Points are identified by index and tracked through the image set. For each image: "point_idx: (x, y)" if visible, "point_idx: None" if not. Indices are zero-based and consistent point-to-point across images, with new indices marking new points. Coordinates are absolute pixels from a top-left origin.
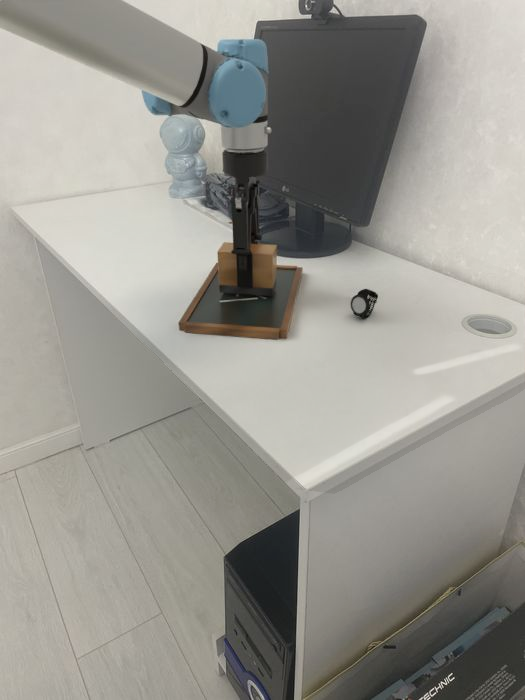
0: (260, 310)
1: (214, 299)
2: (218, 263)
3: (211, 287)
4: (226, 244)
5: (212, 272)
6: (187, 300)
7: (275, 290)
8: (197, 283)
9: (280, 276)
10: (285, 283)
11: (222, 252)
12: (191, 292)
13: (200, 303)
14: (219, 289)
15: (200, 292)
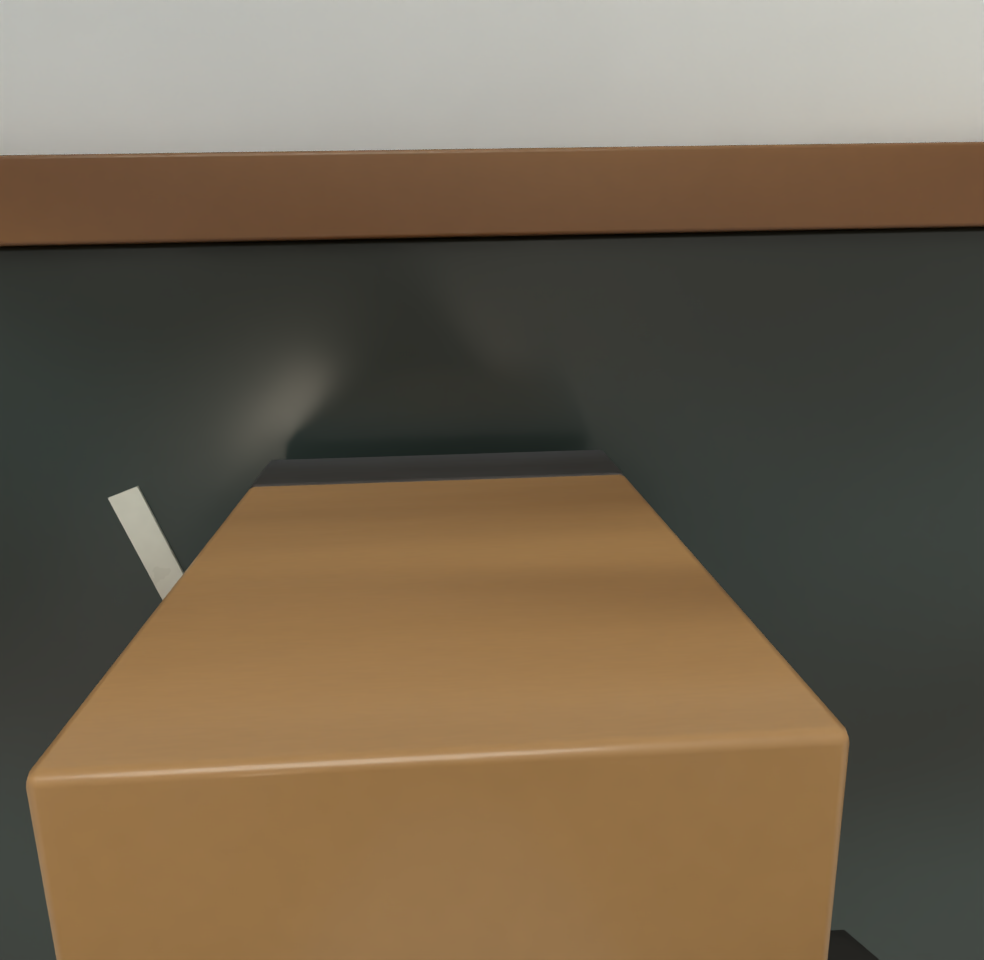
0: (43, 927)
1: (167, 414)
2: (144, 629)
3: (494, 284)
4: (656, 859)
5: (936, 176)
6: (235, 29)
7: None
8: (748, 11)
9: (881, 935)
10: None
11: (54, 897)
12: (471, 11)
13: (9, 274)
14: (263, 470)
15: (273, 193)
